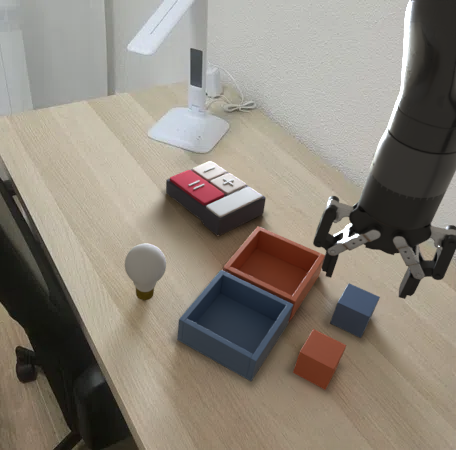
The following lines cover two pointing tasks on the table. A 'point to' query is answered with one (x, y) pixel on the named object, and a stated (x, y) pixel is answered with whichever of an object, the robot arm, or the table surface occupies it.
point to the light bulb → (145, 268)
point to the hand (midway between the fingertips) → (365, 282)
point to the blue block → (354, 310)
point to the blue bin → (234, 324)
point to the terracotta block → (319, 359)
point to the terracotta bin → (276, 266)
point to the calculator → (215, 197)
